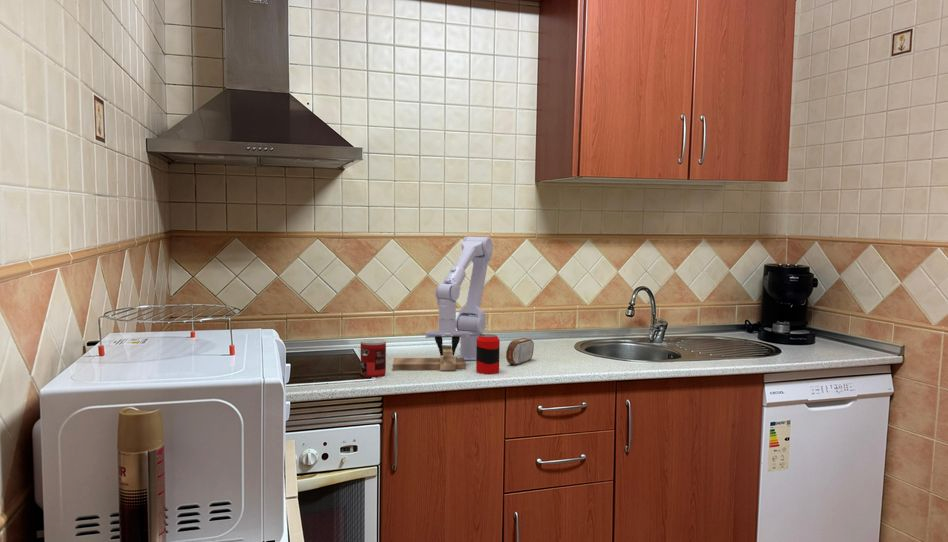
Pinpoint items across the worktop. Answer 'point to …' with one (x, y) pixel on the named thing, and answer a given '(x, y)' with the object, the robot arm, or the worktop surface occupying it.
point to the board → (423, 363)
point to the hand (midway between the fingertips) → (447, 358)
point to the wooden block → (447, 358)
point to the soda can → (487, 354)
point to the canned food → (373, 357)
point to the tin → (519, 351)
